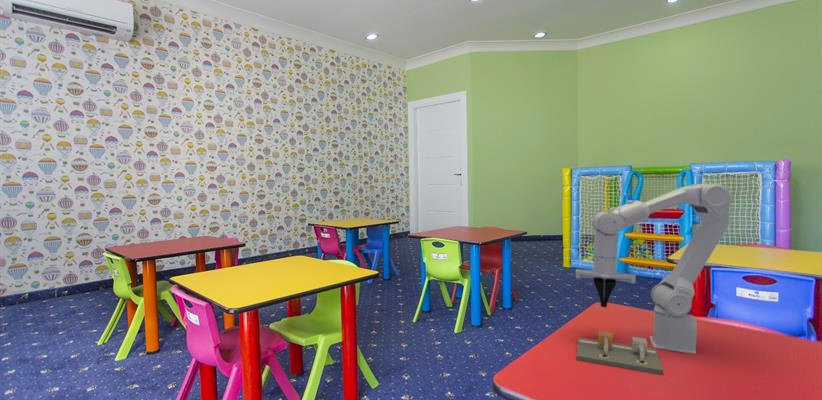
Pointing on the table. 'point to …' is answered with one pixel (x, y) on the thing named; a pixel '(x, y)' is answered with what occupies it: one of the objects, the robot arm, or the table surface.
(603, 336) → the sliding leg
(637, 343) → the fixed leg
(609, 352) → the plate
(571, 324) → the table surface
